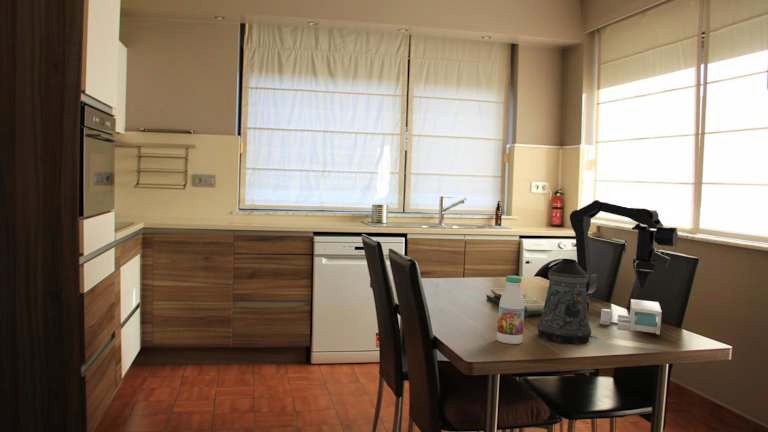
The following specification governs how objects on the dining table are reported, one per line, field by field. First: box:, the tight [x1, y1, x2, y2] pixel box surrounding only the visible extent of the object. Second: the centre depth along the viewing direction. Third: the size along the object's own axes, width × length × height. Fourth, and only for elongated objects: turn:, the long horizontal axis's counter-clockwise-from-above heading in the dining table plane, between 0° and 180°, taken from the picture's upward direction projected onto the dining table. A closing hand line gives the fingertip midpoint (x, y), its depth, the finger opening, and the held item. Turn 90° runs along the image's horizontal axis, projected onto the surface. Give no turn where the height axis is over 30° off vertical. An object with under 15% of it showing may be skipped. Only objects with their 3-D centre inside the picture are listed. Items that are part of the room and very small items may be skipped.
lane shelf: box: [617, 298, 663, 335], centre depth 218 cm, size 21×18×9 cm
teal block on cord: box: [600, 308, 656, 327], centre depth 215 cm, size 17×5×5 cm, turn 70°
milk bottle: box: [496, 275, 526, 345], centre depth 192 cm, size 8×8×20 cm
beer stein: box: [536, 258, 592, 346], centre depth 201 cm, size 16×19×25 cm
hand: (641, 286), depth 226 cm, fingers open, 9 cm apart
